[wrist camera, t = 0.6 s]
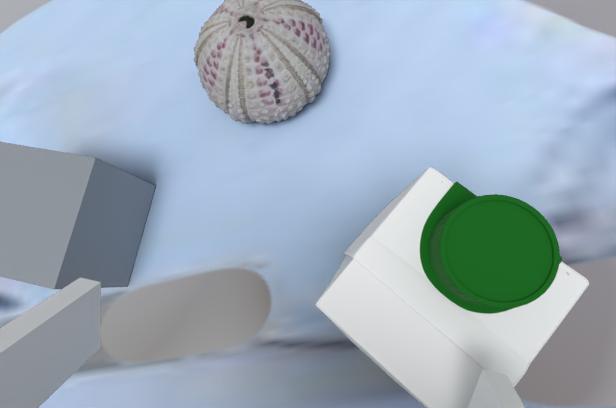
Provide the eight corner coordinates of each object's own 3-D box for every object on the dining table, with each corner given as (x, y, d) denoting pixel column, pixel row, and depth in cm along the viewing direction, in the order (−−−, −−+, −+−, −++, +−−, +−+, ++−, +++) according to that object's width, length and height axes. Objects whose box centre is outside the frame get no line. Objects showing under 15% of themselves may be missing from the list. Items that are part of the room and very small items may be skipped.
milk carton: (469, 279, 31) (660, 281, 12) (403, 362, 30) (490, 509, 11) (388, 215, 33) (437, 127, 14) (324, 292, 32) (281, 311, 13)
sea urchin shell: (350, 34, 38) (350, -30, 30) (304, 150, 36) (290, 114, 28) (238, 5, 40) (210, -62, 32) (188, 112, 38) (145, 69, 30)
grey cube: (127, 286, 35) (54, 289, 26) (37, 266, 36) (-60, 262, 28) (155, 186, 37) (95, 157, 28) (69, 170, 38) (-13, 139, 30)
